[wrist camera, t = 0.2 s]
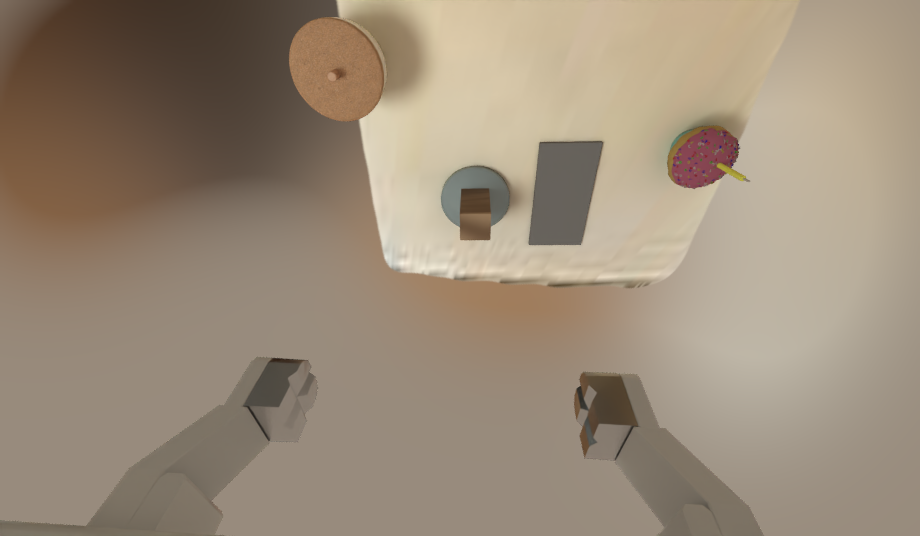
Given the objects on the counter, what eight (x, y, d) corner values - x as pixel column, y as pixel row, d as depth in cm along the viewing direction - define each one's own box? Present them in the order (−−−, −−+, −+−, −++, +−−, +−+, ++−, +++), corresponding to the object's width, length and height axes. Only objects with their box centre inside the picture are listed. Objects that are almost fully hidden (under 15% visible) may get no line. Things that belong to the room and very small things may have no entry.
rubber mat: (539, 142, 54) (540, 143, 54) (601, 141, 54) (602, 142, 54) (528, 243, 65) (529, 245, 65) (580, 243, 65) (580, 244, 65)
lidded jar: (294, 37, 47) (261, 48, 40) (365, -5, 44) (344, -2, 37) (343, 117, 53) (322, 139, 46) (408, 85, 50) (397, 103, 43)
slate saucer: (439, 166, 57) (438, 174, 55) (510, 165, 57) (512, 174, 54) (443, 227, 64) (442, 237, 61) (507, 226, 63) (508, 236, 61)
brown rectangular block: (461, 188, 58) (459, 214, 52) (489, 188, 58) (491, 213, 52) (461, 213, 61) (460, 240, 55) (488, 212, 61) (490, 240, 54)
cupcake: (727, 114, 51) (785, 145, 42) (707, 172, 56) (754, 211, 47) (663, 119, 52) (705, 150, 42) (649, 176, 57) (684, 215, 48)
